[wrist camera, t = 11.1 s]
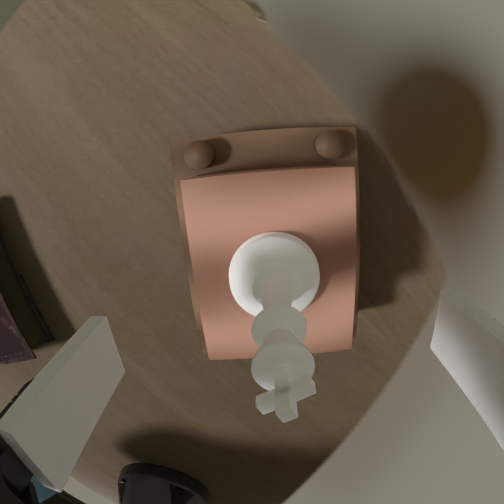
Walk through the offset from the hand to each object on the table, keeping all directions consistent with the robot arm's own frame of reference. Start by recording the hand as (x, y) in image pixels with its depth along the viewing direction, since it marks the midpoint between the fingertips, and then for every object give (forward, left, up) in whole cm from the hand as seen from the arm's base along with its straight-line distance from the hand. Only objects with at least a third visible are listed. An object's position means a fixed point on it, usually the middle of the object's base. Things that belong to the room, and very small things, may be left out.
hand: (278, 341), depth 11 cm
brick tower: (0, 0, -15) cm, 15 cm away
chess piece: (0, 0, -6) cm, 6 cm away
